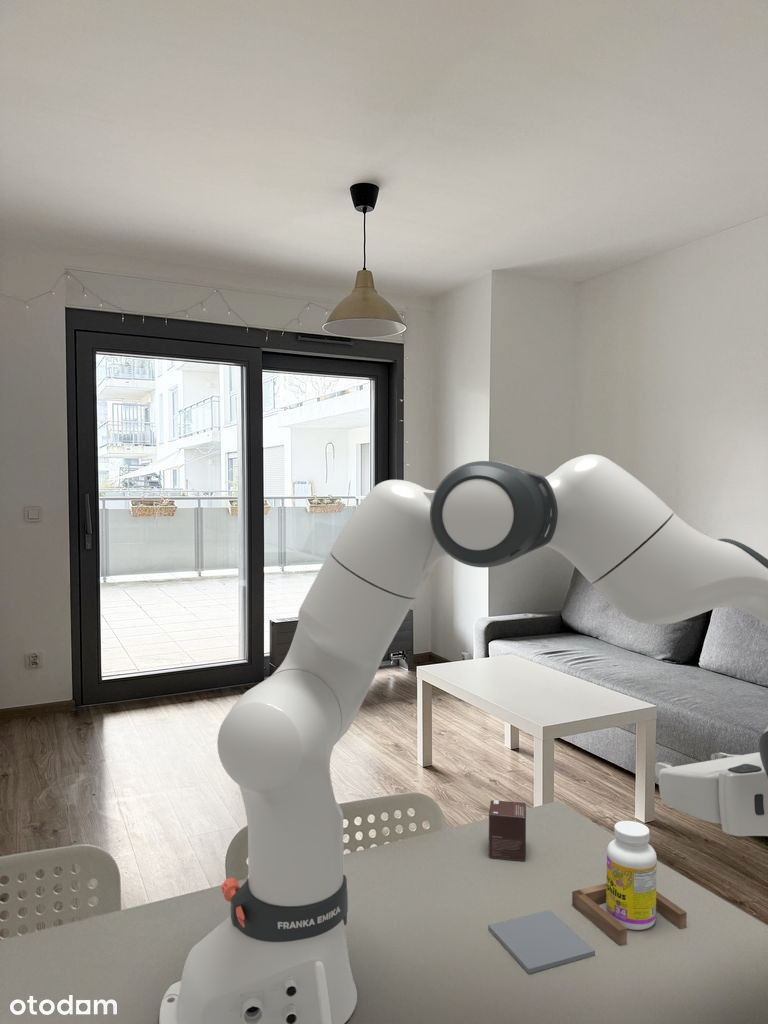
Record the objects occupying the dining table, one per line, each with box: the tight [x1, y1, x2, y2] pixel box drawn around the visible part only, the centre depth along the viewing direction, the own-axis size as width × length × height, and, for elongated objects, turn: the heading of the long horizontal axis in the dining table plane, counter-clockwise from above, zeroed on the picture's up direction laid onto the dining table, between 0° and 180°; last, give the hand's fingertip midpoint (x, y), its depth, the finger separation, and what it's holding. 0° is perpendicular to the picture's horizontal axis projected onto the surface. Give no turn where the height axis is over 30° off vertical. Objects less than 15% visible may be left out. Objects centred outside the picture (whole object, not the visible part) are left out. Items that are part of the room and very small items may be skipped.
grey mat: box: [487, 909, 596, 975], centre depth 97 cm, size 10×10×1 cm
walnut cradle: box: [571, 882, 688, 946], centre depth 103 cm, size 11×10×2 cm
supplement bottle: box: [605, 820, 658, 931], centre depth 102 cm, size 7×7×13 cm
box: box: [488, 800, 527, 862], centre depth 121 cm, size 6×6×7 cm
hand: (687, 764), depth 92 cm, fingers open, 8 cm apart
